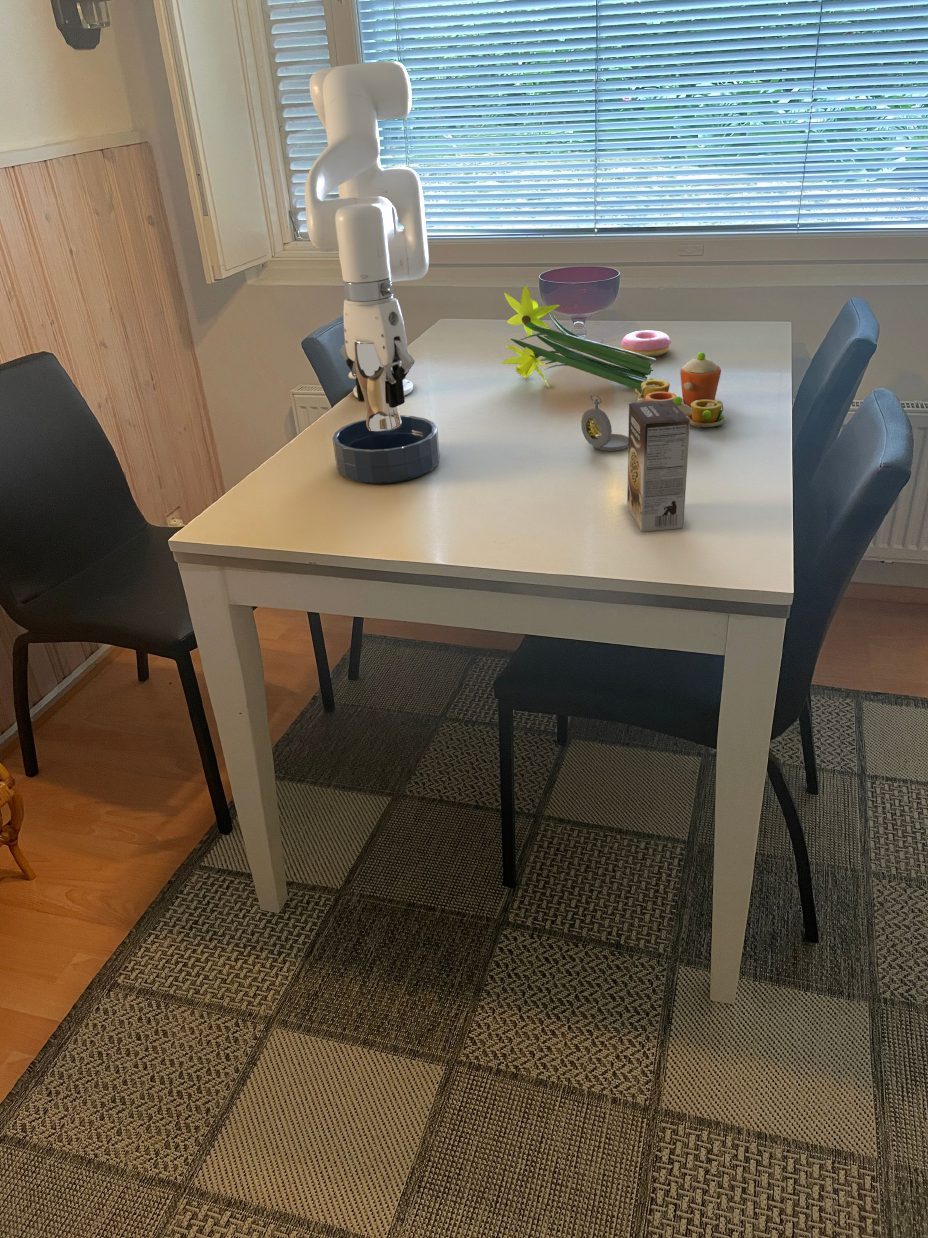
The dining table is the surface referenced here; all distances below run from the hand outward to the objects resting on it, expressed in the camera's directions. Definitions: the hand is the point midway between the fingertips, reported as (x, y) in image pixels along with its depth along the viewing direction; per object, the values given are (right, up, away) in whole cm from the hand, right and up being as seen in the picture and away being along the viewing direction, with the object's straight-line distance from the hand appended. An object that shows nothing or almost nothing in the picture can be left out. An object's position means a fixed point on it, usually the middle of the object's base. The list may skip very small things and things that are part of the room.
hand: (381, 401), depth 156 cm
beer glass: (0, -4, +2) cm, 5 cm away
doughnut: (+55, +24, +55) cm, 81 cm away
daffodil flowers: (+37, +13, +40) cm, 56 cm away
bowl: (+1, -10, +6) cm, 11 cm away
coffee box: (+41, -22, -19) cm, 51 cm away
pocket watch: (+38, -7, +6) cm, 39 cm away
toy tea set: (+54, +1, +17) cm, 56 cm away
